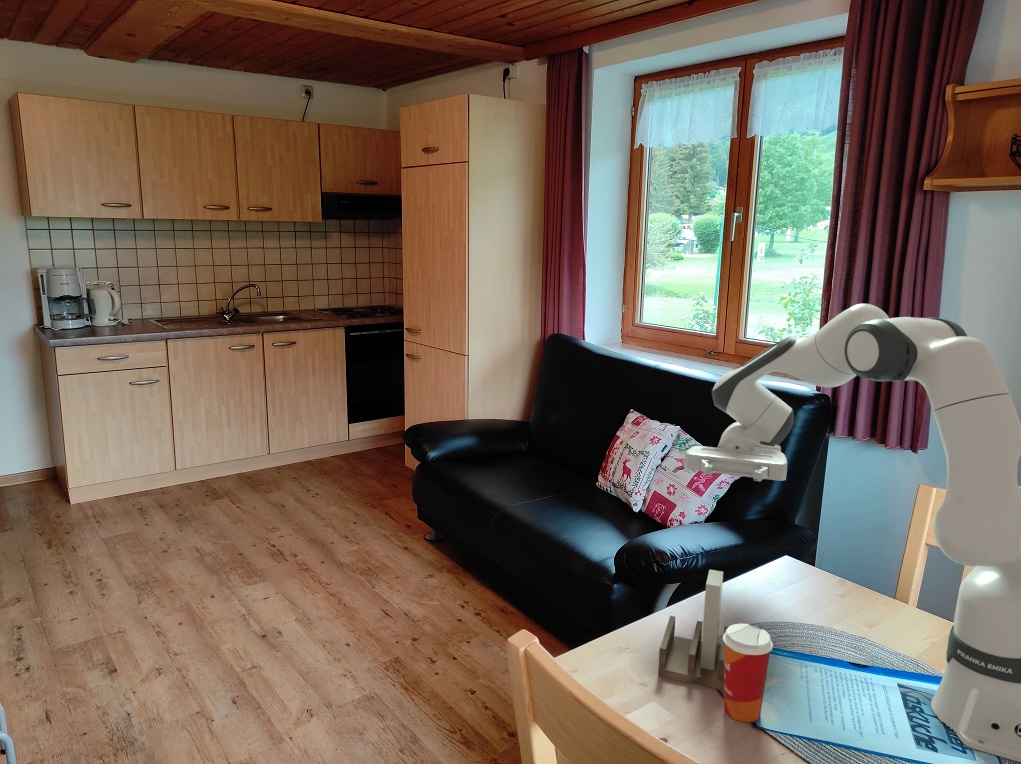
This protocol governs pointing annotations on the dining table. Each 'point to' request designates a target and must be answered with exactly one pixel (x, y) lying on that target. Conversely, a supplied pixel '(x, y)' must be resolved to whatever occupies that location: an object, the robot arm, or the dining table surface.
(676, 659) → the rack
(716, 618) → the strip
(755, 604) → the dining table surface
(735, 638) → the paper cup
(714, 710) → the dining table surface
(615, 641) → the dining table surface
